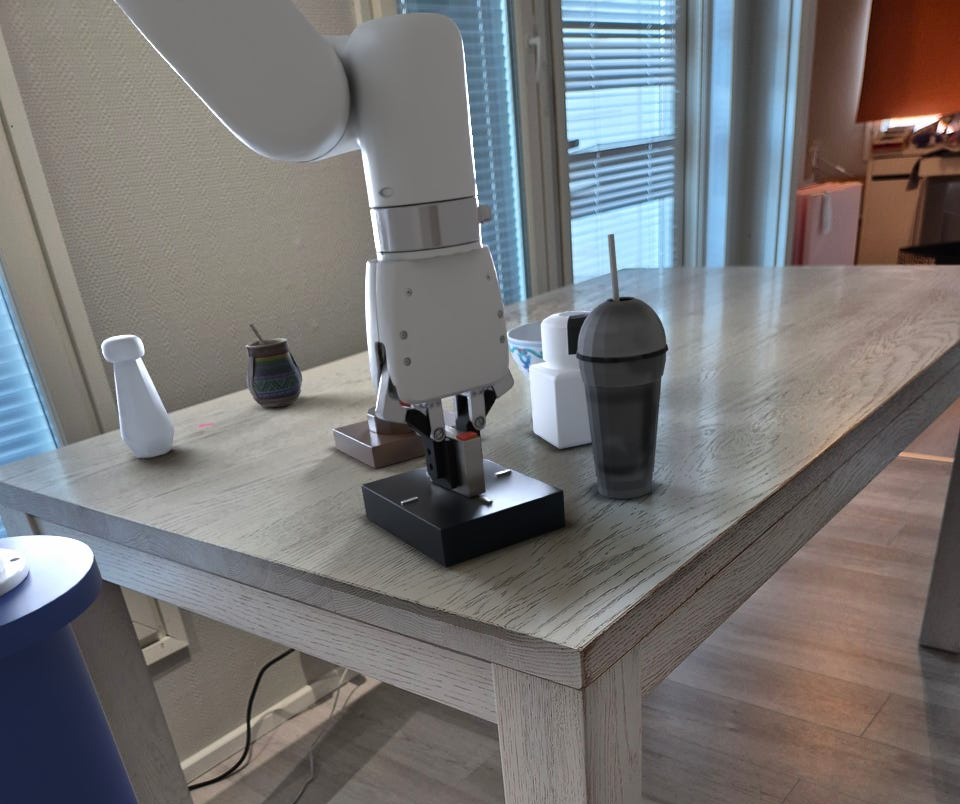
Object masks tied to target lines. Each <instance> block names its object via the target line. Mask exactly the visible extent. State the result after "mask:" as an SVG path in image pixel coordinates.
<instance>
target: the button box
mask: <svg viewBox="0 0 960 804" xmlns="http://www.w3.org/2000/svg"><path fill="white" fill-rule="evenodd" d="M375 411H376V405H375V406H372V407H371V408H370V407H369V409H367V412H366V418H367V420H363V421H359V422H355V423H351V424H348V425H344V426H340V427H335V428H332V433H333V434H332V435H333V438H334V439H333V440H334V444H335V448H336V449H337V450H338V451H340V452H342V453H343V454H346V455H348V456H350V457H352V458H354V459H355V460H358V461H359V462H361V463H363V464H365V465H367V466H369V467H371V468H373V469H379V468H383V467H386V466H390V465H394V464H397V463H401V462H405V461H407V460H411V459H415V458H418V457H422V456H425V452H424V444H423V437H422V436H419V435H417V434H416V432H415V431H414V430H412V429H411V428H410V427H408V426H407V425H406V424H401V423H394V422H388V421H385V420H382V419H379V418H378V417H377V416H376V414H375ZM443 416H444V423H445V426H448V427H451V426H454V425H456V421H455V415H454V412H451V411H448V410H445V409H443Z"/></svg>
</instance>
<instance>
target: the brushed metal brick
mask: <svg viewBox="0 0 960 804" xmlns="http://www.w3.org/2000/svg"><path fill="white" fill-rule="evenodd" d="M445 430H446V438H449V439H452V441H453V444H454V453H455V461H456V470H457V478H458V486H457V488H455V489H452V490H453V491H455V492H458V493H460V494H462V495H465V496H467V497H469V498H470V497H473V496H476V495H479V494H482V493H485V492H486V487H485V477H484V468H483V458H484V457H483V458H482V454H483V447H482V448H481V444H482V438H481V439H480V437H479V436H477V433H474V432H471V431H469V432H464V431H461V430H458V429H455V428H452V427H448V426H445ZM430 480H431V478H430ZM431 481H432V480H431Z"/></svg>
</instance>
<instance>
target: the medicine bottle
mask: <svg viewBox="0 0 960 804" xmlns="http://www.w3.org/2000/svg"><path fill="white" fill-rule="evenodd" d="M591 311H592V310H571V311H562V312H557V313H553V314H551V315H549V316H547V317H546V318H544V319H543V322H542V323H541V336H542V352H543V360H544V361H546V362H545V363H539V364H534V365H531V366H530V367H529V376H530V380H529V388H530V390H529V391H530V402H531V415H532V429H533V433H534V434H535V435H536V436H538V437H540V438H541V439H543V440H544V441H546V442H548V443H549V444H550V445H553V446H554V447H555V448H557V449H559V450H563V449H568V448H572V447H578V446H582V445H587V444H592V441H591V433H590V425H589V417H588V409H587V401H586V393H585V385H584V383H583V381H582V376H581V372H580V368H579V359H577V358H576V352H577V350H578V339H579V334H580V331H581V327H582V325H583V323H584V321H585V319H586V318H587V316H588V315H589V314H590V312H591Z"/></svg>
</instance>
